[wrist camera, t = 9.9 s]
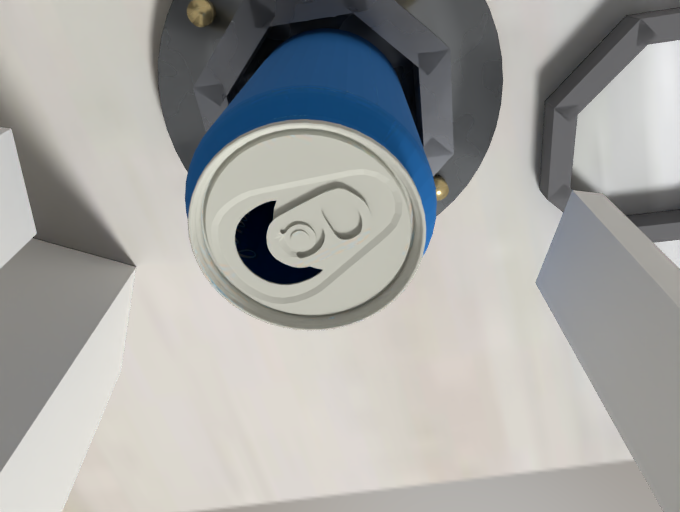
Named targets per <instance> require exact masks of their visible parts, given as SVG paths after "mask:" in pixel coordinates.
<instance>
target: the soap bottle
mask: <svg viewBox="0 0 680 512" xmlns="http://www.w3.org/2000/svg"><path fill="white" fill-rule="evenodd" d="M135 273H136V267H135V266H131V265H128V264H124V263H120V262H117V261H113V260H110V259H106V258H102V257H99V256H95V255H92V254H88V253H84V252H81V251H77V250H74V249H70V248H66V247H63V246H59V245H56V244H52V243H48V242H45V241H41V240H38V239H34V238H32V239H31V240H30V241H29V242H28V243H27V244H25V245H24V246H23V247H22V248H21V249H20V250H19V251H18V252H17V253H16V254H15V255H14V256H13V257H12V258H11V259H10V260H9V261H8V262H7V263H6V264H5V265H4V266H3V267H2V268H1V269H0V512H62V511H63V509H64V506H65V504H66V501H67V499H68V497H69V494H70V492H71V490H72V487H73V485H74V482H75V480H76V478H77V475H78V473H79V470H80V468H81V466H82V463H83V461H84V458H85V456H86V454H87V451H88V449H89V447H90V444H91V442H92V439H93V437H94V435H95V432H96V430H97V427H98V425H99V423H100V420H101V418H102V416H103V413H104V411H105V408H106V406H107V404H108V401H109V399H110V396H111V394H112V392H113V389H114V387H115V385H116V382H117V380H118V377H119V375H120V373H121V370H122V363H123V356H124V349H125V342H126V335H127V328H128V321H129V314H130V308H131V301H132V294H133V287H134V280H135Z"/></svg>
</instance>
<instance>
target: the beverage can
mask: <svg viewBox="0 0 680 512" xmlns="http://www.w3.org/2000/svg"><path fill="white" fill-rule="evenodd" d="M185 202H186V213H187V218H188V230H189V238H190V243H191V247H192V251H193V253H194V256H195V258H196V261H197V263H198V265H199V267H200V269H201V271H202V272H203V274H204V276H205V277H206V278H207V280H208V281H209V282H210V284H211V285H212V286H213V287H214V288H215V289H216V291H217V292H218V293H219V294H220V295H221V296H222V297H224V298H225V299H226V300H227V301H228V302H229V303H231V304H232V305H233V306H235V307H236V308H238V309H239V310H241V311H242V312H244V313H246V314H248V315H250V316H252V317H254V318H256V319H258V320H261V321H263V322H266V323H268V324H272V325H275V326H279V327H283V328H289V329H294V330H307V331H314V330H328V329H336V328H340V327H344V326H349V325H352V324H354V323H357V322H360V321H363V320H365V319H367V318H369V317H371V316H373V315H375V314H376V313H378V312H379V311H381V310H383V309H384V308H386V307H387V306H388V305H389V304H390V303H392V302H393V301H394V300H395V299H396V298H397V297H398V296H399V295H400V294H401V293H402V292H403V291H404V290H405V288H406V287H407V286H408V284H409V283H410V282H411V280H412V279H413V277H414V275H415V273H416V271H417V269H418V267H419V264H420V262H421V259H422V257H423V255H424V253H425V251H426V249H427V248H428V245H429V242H430V239H431V237H432V234H433V229H434V224H435V220H436V208H437V198H436V187H435V183H434V179H433V174H432V171H431V168H430V165H429V162H428V160H427V157H426V154H425V151H424V148H423V146H422V143H421V140H420V137H419V134H418V132H417V129H416V126H415V123H414V120H413V118H412V115H411V112H410V109H409V106H408V104H407V101H406V98H405V95H404V92H403V90H402V87H401V84H400V81H399V79H398V76H397V74H396V72H395V70H394V68H393V66H392V65H391V63H390V62H389V60H388V59H387V58H386V56H385V55H384V54H383V53H382V52H381V51H380V50H379V49H378V48H377V47H376V46H374V45H373V44H372V43H370V42H369V41H368V40H366V39H364V38H362V37H361V36H359V35H356V34H354V33H351V32H348V31H344V30H340V29H331V28H323V29H314V30H308V31H305V32H302V33H299V34H296V35H295V36H293V37H291V38H289V39H287V40H286V41H284V42H283V43H281V44H280V45H279V46H278V47H277V48H276V49H274V50H273V51H272V52H271V54H270V55H269V56H268V57H267V58H266V60H265V61H264V62H263V63H262V65H261V66H260V67H259V68H258V70H257V71H256V72H255V73H254V74H253V76H252V77H251V78H250V79H249V81H248V82H247V83H246V84H245V85H244V87H243V88H242V89H241V90H240V92H239V93H238V94H237V95H236V97H235V98H234V99H233V100H232V101H231V103H230V104H229V105H228V106H227V108H226V109H225V110H224V111H223V113H222V114H221V115H220V116H219V117H218V119H217V120H216V121H215V122H214V124H213V125H212V126H211V127H210V129H209V130H208V131H207V132H206V134H205V135H204V136H203V138H202V140H201V141H200V143H199V145H198V147H197V148H196V150H195V152H194V155H193V158H192V160H191V163H190V166H189V170H188V175H187V180H186V192H185Z"/></svg>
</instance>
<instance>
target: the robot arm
mask: <svg viewBox="0 0 680 512" xmlns="http://www.w3.org/2000/svg"><path fill="white" fill-rule="evenodd" d="M36 234H37V232H36V228H35V223H34V219H33V215H32V211H31V207H30V203H29V199H28V195H27V191H26V187H25V182H24V178H23V174H22V170H21V166H20V162H19V158H18V154H17V150H16V146H15V141H14V137H13V133H12V129H11V128H3V127H0V269H1V268H2V267H3V266H4V265H5V264H6V263H7V262H8V261H9V260H10V259H11V258H12V257H13V256H14V255H15V254H16V253H17V252H18V251H19V250H20V249H21V248H22V247H23V246H24V245H25V244H27V243H28V242H29V241H30V240H31V239H32V238H33V237H34V236H35V235H36ZM536 284H537V286H538V288H539V290H540V292H541V293H542V295H543V297H544V299H545V301H546V302H547V304H548V306H549V308H550V310H551V311H552V313H553V315H554V317H555V319H556V320H557V322H558V324H559V326H560V328H561V329H562V331H563V333H564V335H565V337H566V338H567V340H568V342H569V344H570V346H571V347H572V349H573V351H574V353H575V354H576V356H577V358H578V360H579V362H580V363H581V365H582V367H583V369H584V371H585V372H586V374H587V376H588V378H589V380H590V381H591V383H592V385H593V387H594V389H595V390H596V392H597V394H598V396H599V398H600V399H601V401H602V403H603V405H604V407H605V408H606V410H607V412H608V414H609V415H610V417H611V419H612V421H613V423H614V424H615V426H616V428H617V430H618V432H619V433H620V435H621V437H622V439H623V441H624V442H625V444H626V446H627V448H628V450H629V451H630V453H631V455H632V457H633V459H634V460H635V462H636V464H637V465H638V467H639V469H640V471H641V473H642V475H643V476H644V478H645V480H646V482H647V483H648V485H649V487H650V489H651V491H652V493H653V494H654V496H655V498H656V500H657V502H658V503H659V505H660V507H661V509H662V511H663V512H680V269H679V268H678V267H677V266H676V265H675V264H674V263H673V262H672V261H671V260H670V259H669V258H668V257H667V256H666V255H665V254H664V253H663V252H662V251H661V250H660V249H659V248H658V247H657V246H656V245H655V244H654V243H653V242H652V241H651V240H650V239H649V238H648V237H647V236H646V235H645V234H644V233H643V232H642V231H641V230H640V229H639V228H638V227H637V226H636V225H635V224H634V223H633V222H631V221H630V220H629V219H628V218H627V217H626V216H625V215H624V214H623V213H622V212H621V211H620V210H619V209H618V208H617V207H616V206H615V205H614V204H613V203H612V202H611V201H610V200H609V199H608V198H607V197H606V196H605V195H604V194H603V193H594V192H585V191H576V190H572V192H571V195H570V197H569V200H568V202H567V205H566V207H565V210H564V213H563V215H562V218H561V220H560V223H559V225H558V228H557V230H556V233H555V235H554V238H553V240H552V243H551V245H550V248H549V250H548V253H547V255H546V258H545V260H544V263H543V265H542V268H541V270H540V273H539V275H538V278H537V280H536Z"/></svg>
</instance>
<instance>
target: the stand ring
mask: <svg viewBox="0 0 680 512" xmlns="http://www.w3.org/2000/svg"><path fill="white" fill-rule="evenodd" d="M675 40H680V8H674V9H667V10H661V11H654V12H648V13H641V14H635V15H627V16H626V17H625V18H624V19H623V20H622V21H621V22H620V23H619V24H618V25H617V26H616V27H615V28H614V29H613V30H612V32H611V33H610V34H609V35H608V36H607V37H606V38H605V39H604V40H603V41H602V42H601V43H600V44H599V45H598V46H597V47H596V48H595V49H594V50H593V52H592V53H591V54H590V55H589V56H588V57H587V58H586V59H585V60H584V61H583V62H582V63H581V64H580V65H579V66H578V67H577V68H576V69H575V70H574V72H573V73H572V74H571V75H570V76H569V77H568V78H567V79H566V80H565V81H564V82H563V83H562V84H561V85H560V86H559V87H558V88H557V89H556V90H555V92H554V93H553V94H552V95H551V96H550V97H549V98H548V99H547V100H546V101H545V112H544V128H543V144H542V160H541V176H540V191H541V192H542V194H543V195H544V196H545V197H546V199H547V200H549V201H550V202H551V203H552V204H554V205H555V206H556V207H557V208H559V209H560V210H561V211H562V212H563V213H564V210H565V207H566V205H567V202H568V200H569V197H570V195H571V192H572V190H574V189H572V188H571V176H572V166H573V156H574V145H575V135H576V125H577V115H578V114H579V113H580V112H581V111H582V110H583V109H584V108H585V107H586V106H587V105H588V104H589V103H590V102H591V101H592V100H593V99H594V98H595V97H596V96H597V95H598V94H599V93H600V92H601V91H602V90H603V89H604V88H605V87H606V86H607V85H608V84H609V83H610V82H611V81H612V80H613V79H614V78H615V77H616V76H617V75H618V74H619V73H620V72H621V71H622V70H623V69H624V68H625V67H626V66H627V65H628V64H629V63H630V62H631V61H632V60H633V59H634V58H635V57H636V56H637V55H638V54H639V53H640V52H641V51H642V50H643V49H644V48H645V47H646V46H647V45H648V44H654V43H661V42H668V41H675ZM626 217H627V218H628V219H629V220H630V221H631V222H633V223H634V224H635V225H636V226H637V227H638V228H639V229H640V230H641V231H642V232H643V233H644V234H645V235H646V236H647V237H648V238H649V239H650V240H651V241H652V242H653V243H654V242H663V241H672V240H680V210H673V211H664V212H656V213H647V214H639V215H630V216H626Z"/></svg>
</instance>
